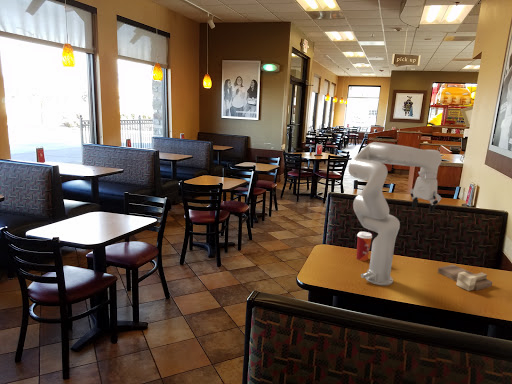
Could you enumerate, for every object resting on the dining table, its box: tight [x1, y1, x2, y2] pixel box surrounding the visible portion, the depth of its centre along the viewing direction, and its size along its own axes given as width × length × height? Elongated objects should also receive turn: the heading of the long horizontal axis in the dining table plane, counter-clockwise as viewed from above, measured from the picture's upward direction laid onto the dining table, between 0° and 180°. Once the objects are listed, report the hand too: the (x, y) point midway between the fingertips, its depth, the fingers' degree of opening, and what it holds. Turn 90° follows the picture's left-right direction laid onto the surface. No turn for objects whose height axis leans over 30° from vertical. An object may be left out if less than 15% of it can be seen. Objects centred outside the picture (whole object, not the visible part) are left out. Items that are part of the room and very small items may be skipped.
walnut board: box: [437, 264, 493, 292], centre depth 177 cm, size 20×11×3 cm, turn 27°
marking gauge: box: [456, 272, 488, 292], centre depth 170 cm, size 6×15×6 cm, turn 117°
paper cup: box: [356, 231, 373, 262], centre depth 194 cm, size 8×8×14 cm
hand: (422, 209), depth 181 cm, fingers open, 9 cm apart
